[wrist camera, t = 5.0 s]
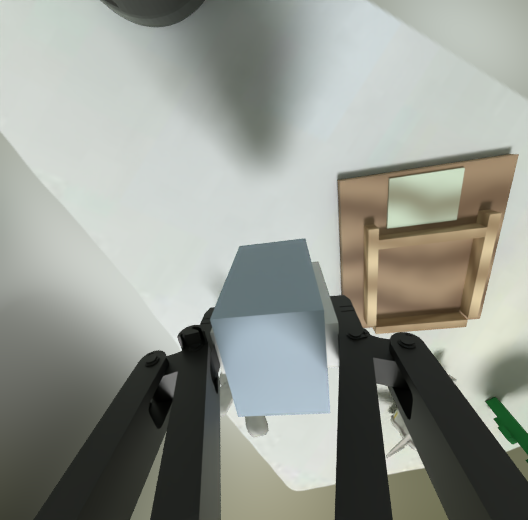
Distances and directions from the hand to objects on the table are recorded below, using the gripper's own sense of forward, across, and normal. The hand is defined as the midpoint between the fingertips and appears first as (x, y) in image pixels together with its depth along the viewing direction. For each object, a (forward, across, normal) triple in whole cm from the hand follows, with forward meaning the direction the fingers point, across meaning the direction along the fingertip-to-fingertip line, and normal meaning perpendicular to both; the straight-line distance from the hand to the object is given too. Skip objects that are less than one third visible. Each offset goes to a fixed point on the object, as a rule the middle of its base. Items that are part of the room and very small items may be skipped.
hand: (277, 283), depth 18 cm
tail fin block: (0, 0, 0) cm, 0 cm away
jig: (+17, +17, -7) cm, 25 cm away
